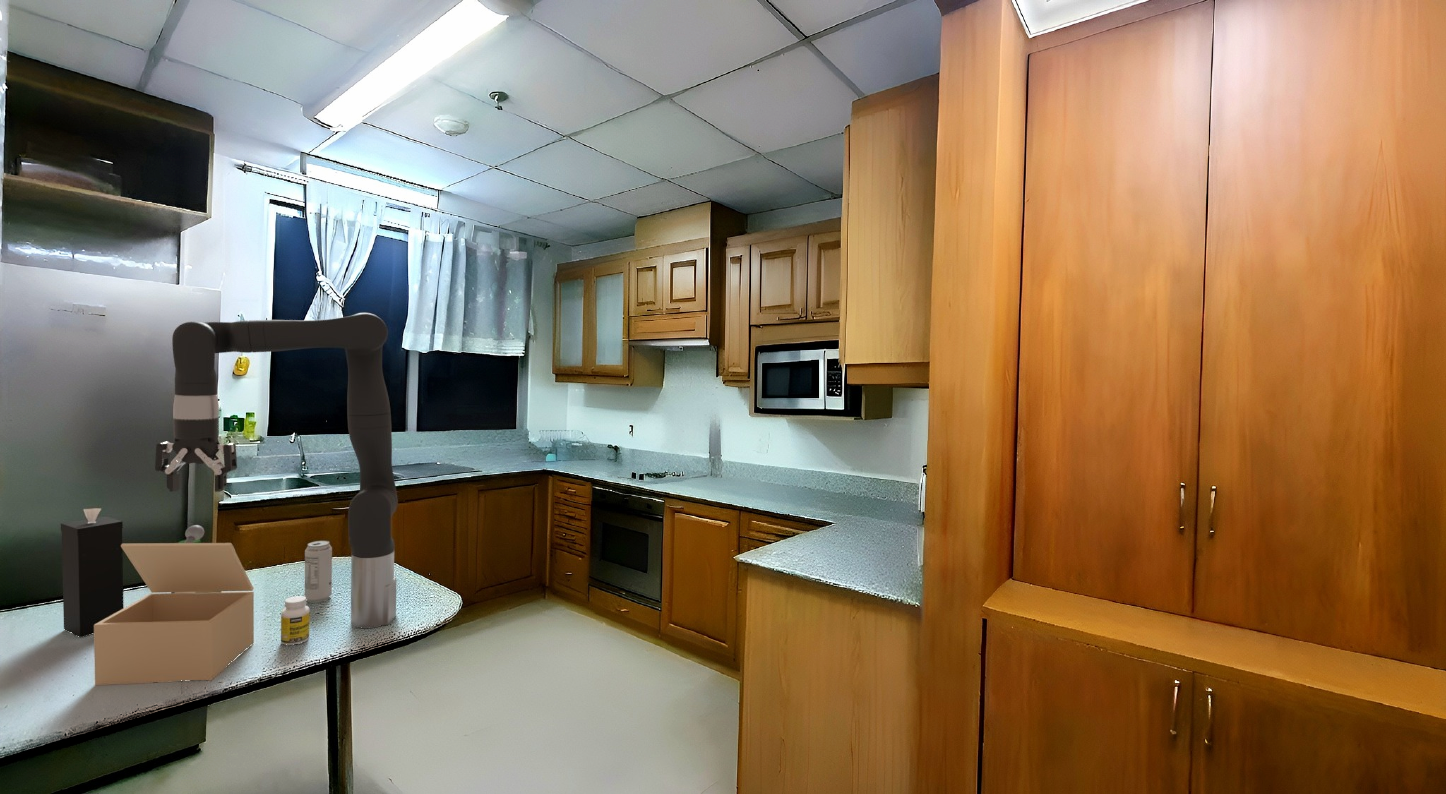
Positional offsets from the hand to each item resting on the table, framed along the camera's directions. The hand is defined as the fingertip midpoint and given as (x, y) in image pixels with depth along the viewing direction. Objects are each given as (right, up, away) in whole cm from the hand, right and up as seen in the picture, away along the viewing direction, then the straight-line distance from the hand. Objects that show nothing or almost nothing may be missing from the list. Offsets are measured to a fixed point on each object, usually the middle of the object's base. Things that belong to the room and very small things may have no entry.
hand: (197, 490), depth 139 cm
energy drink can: (+6, -33, +32) cm, 47 cm away
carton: (-1, -35, -4) cm, 36 cm away
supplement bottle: (+15, -36, +8) cm, 40 cm away
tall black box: (-32, -33, +10) cm, 47 cm away
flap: (0, -16, -2) cm, 16 cm away
